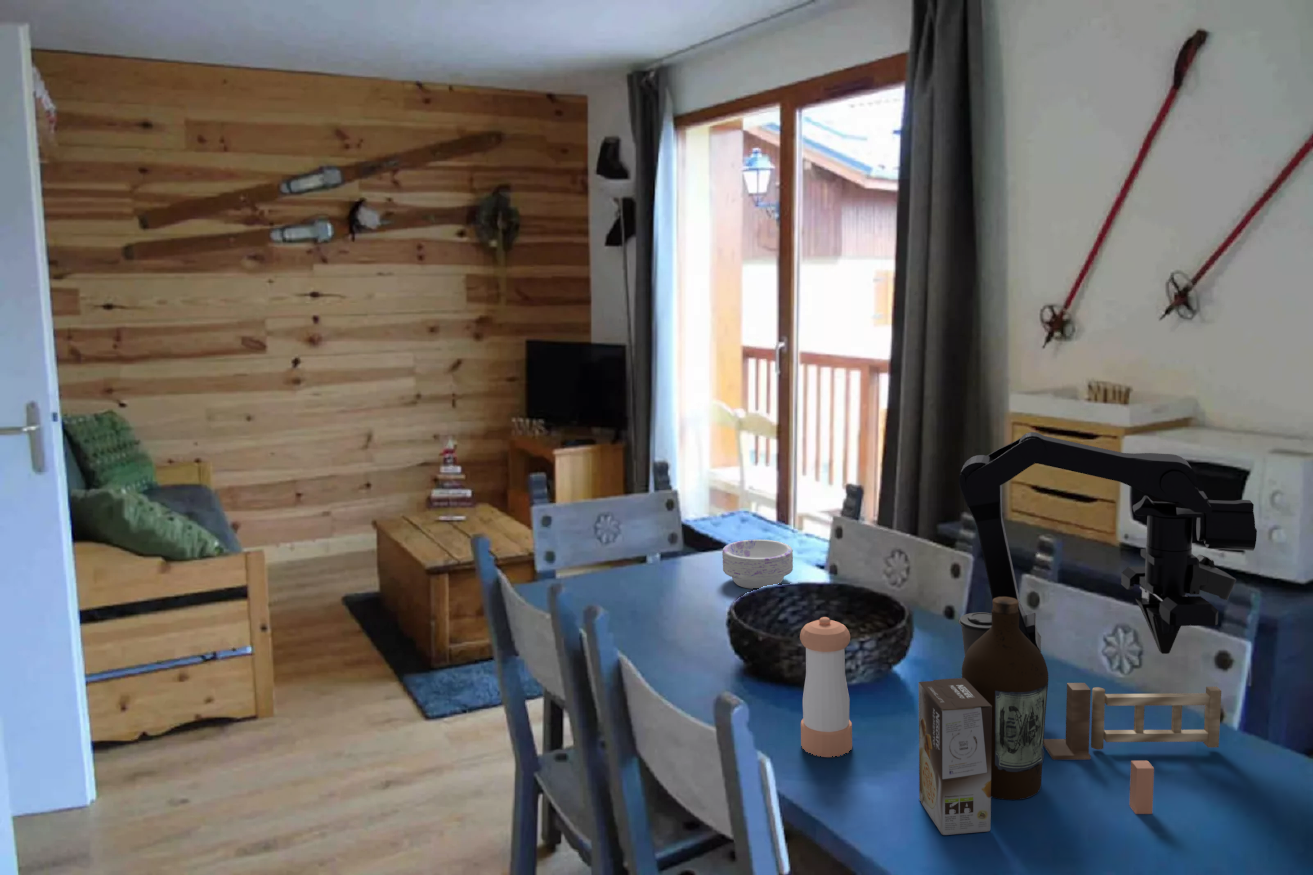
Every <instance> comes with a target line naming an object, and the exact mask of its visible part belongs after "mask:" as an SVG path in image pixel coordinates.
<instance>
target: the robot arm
mask: <svg viewBox="0 0 1313 875" xmlns="http://www.w3.org/2000/svg"><path fill="white" fill-rule="evenodd" d="M1036 464H1038V465H1043V466H1047V467H1051V468H1057V469H1060V470H1066V471H1070V472H1075V473H1079V474H1083V475H1087V476H1092V477H1097V478H1100V479H1106V480H1110V481H1114V482H1120V483H1122V484H1123V485H1127V486H1129V487H1131V488H1133V489H1135V490H1137V491H1139V492H1141V493H1143V494H1146V495H1143V497H1142V499H1141V500H1139V501H1138V502H1137V503H1135V504H1133V505H1132V511H1133V513H1134V515H1135V516H1146V517H1147V519H1146V542H1145V543H1146V544H1145V548H1140V556H1141V558H1143V559H1144V560H1145V566H1127V567H1126V568H1125V569H1124V570H1123V571H1122V572H1121V576H1120V578H1121V579H1120V585H1121V586H1123V587H1124V588H1125V589H1126V590H1127V591H1130V590H1133V588H1134V587H1135V586H1134V585H1136V586H1137V585H1138V586H1139V589H1140V590H1141V597H1137V598H1135V601H1136V603H1137V605H1138V606H1139V608H1140V611H1141V612H1142V615H1143V617H1144V620H1145V622H1146V624H1147V626H1148V628H1149V630H1150V632H1151V635H1152V638H1153V640H1154V642H1155V645H1156V647H1157V649H1158V651H1159V652H1160V653H1161V654H1163V655H1164V654H1167V655H1169V654H1170V653H1171V651H1172V648H1173V645H1174V643H1175V641H1176V639H1177V636H1178V634H1179V631H1180V629H1181V627H1192V626H1193V627H1195V626H1196V627H1199V626H1202V627H1203V626H1206V627H1207V626H1209V627H1210V626H1217V625H1218V623H1219V609H1217V608H1216V606H1214V605H1213V604H1212V603H1211V602H1209V601H1207V600H1206V599H1205V598H1204V597H1203V596H1199V595H1200V594H1201V593H1200V591H1202V592H1204V593H1205V592H1206V594H1207V593H1208V594H1212V595H1214V596H1217V597H1219V598H1220V599H1222V600H1225V601H1228V600H1229V597H1230V595H1231V593H1232V592H1233V588H1234V586H1235V584H1236V582H1237V579H1236V578H1235V577H1233V576H1232V575H1230V574H1229V573H1227V572H1226V571H1224V570H1221V569H1219V568H1217V567H1215V561H1214V559H1211V558H1210V557H1208V556H1205V555H1204V554H1203V555H1202V554H1198V555H1197V556H1196V555H1194V554H1193V553H1192V550H1193V548H1192V546H1193V529H1194V528H1193V527H1194V518H1195V519H1196V529H1195V530H1196V540H1197V541H1198V542H1202V541H1203V543H1204V545H1205V548H1206V549H1208V550H1209V549H1212V550H1213V549H1214V550H1227V551H1229V550H1230V551H1249V552H1251V551H1252V552H1253V551H1254V550H1255V548H1256V544H1257V539H1258V538H1257V536H1258V530H1257V527H1256V519H1255V513H1254V506H1255V505H1254V502H1252V501H1251V500H1250V499H1238V500H1218V499H1217V500H1213V499H1209V498H1208V497H1207V494H1206V493H1205V492H1204V491H1203V490H1200V489H1199V488H1198V487H1197V486H1198V478H1197V474H1196V473H1195V471H1194V470H1193V468H1192V467H1191V465H1190V464H1189V462H1188V461H1187V460H1186V459H1185V458H1183V457H1182V456H1180V455H1177V454H1173V453H1155V452H1144V453H1143V452H1142V453H1140V452H1139V453H1138V452H1137V453H1133V452H1132V453H1130V452H1129V453H1128V452H1121V451H1115V450H1111V449H1108V448H1107V449H1106V448H1103V447H1098V446H1092V445H1088V444H1083V443H1080V442H1075V441H1070V440H1066V439H1060V438H1056V437H1051V436H1047V435H1043V434H1041V433H1040V432H1037V431H1034V432H1033V431H1031V432H1026V433H1025V434H1023V435H1022V436H1021V437H1020V438H1018V439H1016V440H1014V441H1013V442H1010V443H1009V444H1006V445H1005V446H1002V447H1000V448H998V449H996V450H994V451H992V452H991V453H989V454H987V455H984V454H978V455H974V456H972V457H970V458H968V459H967V460H966V461H965V462H964V464H963V466H962V467H961V468H962V469H961V470H960V474H959V476H958V486H959V490H960V492H961V495H962V497H963V500H964V502H965V505H966V507H967V509H968V511H969V512H970V514H971V516H972V519H973V520H974V522H975V524H976V530H977V534H978V538H979V543H980V547H981V553H982V558H983V562H984V567H985V571H986V576H987V580H988V581H987V582H988V586H989V590H990V596H991V600H992V602H993V599H994V598H996V597H1011V598H1015V599H1017V600H1018V601H1019V606H1018V610H1019V612H1020V613H1019V629H1020V630H1021V632H1022V633H1023V634H1024V635H1025V636H1026V637H1027V638H1028V639H1029V640H1030V641H1031V642H1032V643H1033V644H1034V645H1035V646H1036V647H1037V648H1038V650H1039V651H1040V652H1041V653H1042V651H1041V650H1042V636H1041V634H1040V633H1039V631H1038V629H1037V616H1036V615H1037V614H1036V612H1033V613H1028V614H1027V613H1026V611H1025V610H1024V608H1023V605H1022V603H1021V600H1020V595H1019V591H1018V584H1017V581H1016V575H1015V570H1014V566H1013V561H1012V555H1011V551H1010V547H1009V542H1008V536H1007V533H1006V528H1005V523H1004V518H1003V485H1004V484H1006V483H1007V482H1009V481H1011V480H1012V479H1013V478H1015V477H1017V476H1018V475H1019V474H1021V473H1022V472H1024V471H1025V470H1027V469H1028V468H1030V467H1032V466H1033V465H1036ZM1149 496H1151V497H1153V498H1156V499H1158V500H1160V501H1153V500H1152V499H1151V498H1150V497H1149ZM1177 503H1180V504H1181V505H1183V506H1184V507H1185V508H1183V507H1182V508H1181V507H1177V506H1176V504H1177ZM1187 594H1189V595H1193V596H1189V595H1187ZM1195 595H1198V596H1195Z"/></svg>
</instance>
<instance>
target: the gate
mask: <svg viewBox="0 0 1313 875" xmlns="http://www.w3.org/2000/svg"><path fill="white" fill-rule="evenodd" d="M1091 692H1092V694H1091V696H1092V697H1091V723H1090V725H1091V729H1090V730H1091V732H1090V748H1091V749H1094V750H1100V751H1101V750H1103V749H1104V742H1106V743H1178V742H1179V743H1186V742H1187V743H1192V742H1194V743H1197V742H1199V743H1202V742H1203V744H1204V745H1205V746H1206V747H1207V748H1219V746H1220V745H1219V744H1220V731H1221V730H1220V729H1221V726H1220V724H1221V709H1222V708H1221V707H1222V705H1221V704H1222V689H1220V688H1219V687H1218V686H1206V687H1205V692H1203V693H1199V692H1195V693H1194V692H1193V693H1192V692H1189V693H1188V692H1187V693H1183V692H1182V693H1176V692H1175V693H1106V689H1105V688H1102V687H1099V686H1096V687H1093V688H1092V691H1091ZM1105 705H1106V706H1107V707H1119V706H1120V707H1122V706H1123V707H1126V706H1127V707H1131V706H1133V707H1134V711H1133V712H1134V713H1133V714H1134V716H1133V729H1105V708H1106V707H1105ZM1145 706H1147V707H1148V706H1150V707H1151V706H1171V726H1170V727H1171V728H1170V729H1144V726H1145ZM1183 706H1204V724H1203V725H1204V726H1203V729H1182V722H1183V719H1182V718H1183Z"/></svg>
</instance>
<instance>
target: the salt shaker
mask: <svg viewBox="0 0 1313 875" xmlns="http://www.w3.org/2000/svg"><path fill="white" fill-rule="evenodd" d="M799 639H800V642H801V644H802V646H804V648H805V680H804V686H803V695H802V717H803V718H802V719H801V721H800V747H801V746H802V747H801V749H802V750H803V749H804V750H805V751H804V750H803V751H804V752H806V753H807V752H808V753H807V754H809V753H811V754H810V755H812V754H813V755H812V756H816V755H817V756H816V757H820V756H821V758H836V757H835V756H837V757H841V756H844V755H843V754H845V753H847V754H849V753H850V752H851V751H850V750H852V749H853V723H852V721H851V720H850V695H849V690H848V683H847V677H846V660H845V656H846V654H845V650H846V648H847V647H848V645H849V643H850V641H851V634H850V631H849V629H848V628H847V627H846V625H844V624H843V623H841V622H839V621H835V620H832V619H830V617H827V616H822V617H820V618H819V619H816V620H812V621H811V622H808V623H806V624H805V625H804V626H803V627H802V628H801V630H800V634H799ZM849 751H850V752H849ZM840 755H841V756H840ZM845 755H846V754H845ZM832 756H833V757H832Z"/></svg>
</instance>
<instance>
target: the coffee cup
mask: <svg viewBox="0 0 1313 875" xmlns="http://www.w3.org/2000/svg"><path fill="white" fill-rule="evenodd" d="M957 623H958V624H959V625H960V626H961V635H962V643H963V644H962V645H963V653H964V656H965V655H966V652H967V651H968V649H969V648H970V646H971V645H972V644H973V643H974V642H975V641H977V640H978V639H979V638H980V637H981V636H982V635H983V634H985V633H986V632H987V631H988V630H989V629H990V628H991V626H992V612H990V613H989V612H970V613H966V614H963V615H962V616H960V618H959V619H958V622H957Z"/></svg>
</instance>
